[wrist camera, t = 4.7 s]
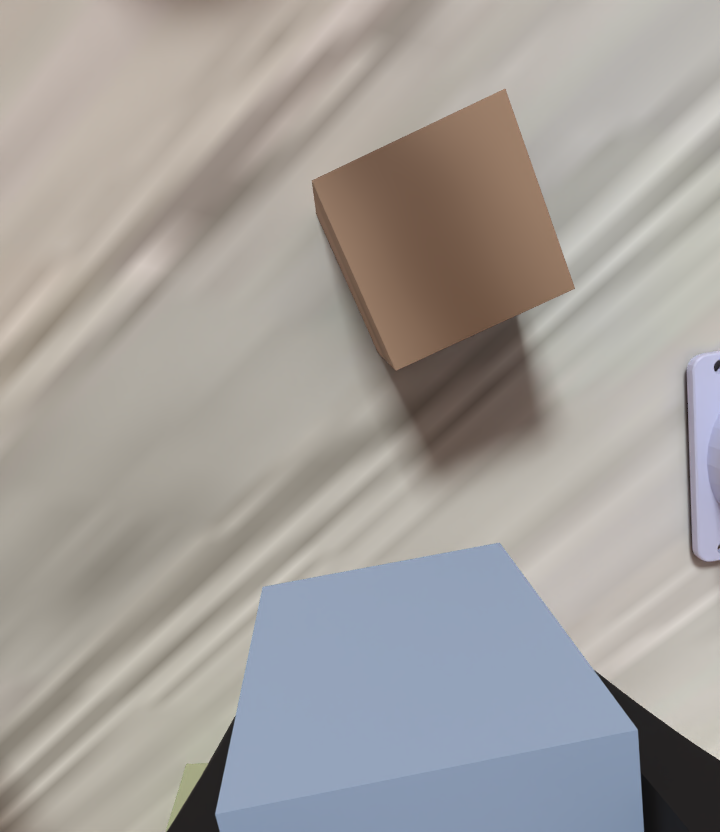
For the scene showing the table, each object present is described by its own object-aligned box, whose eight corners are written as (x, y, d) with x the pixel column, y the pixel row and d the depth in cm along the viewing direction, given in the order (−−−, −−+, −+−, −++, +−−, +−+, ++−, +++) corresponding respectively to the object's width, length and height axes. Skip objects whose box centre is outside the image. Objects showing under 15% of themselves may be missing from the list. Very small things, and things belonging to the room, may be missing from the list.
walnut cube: (455, 148, 17) (505, 88, 12) (509, 291, 18) (575, 288, 14) (316, 214, 18) (312, 180, 13) (378, 352, 19) (395, 370, 14)
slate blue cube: (499, 542, 11) (637, 730, 6) (523, 741, 12) (656, 1033, 7) (262, 586, 11) (214, 813, 6) (307, 784, 12) (297, 1111, 7)
